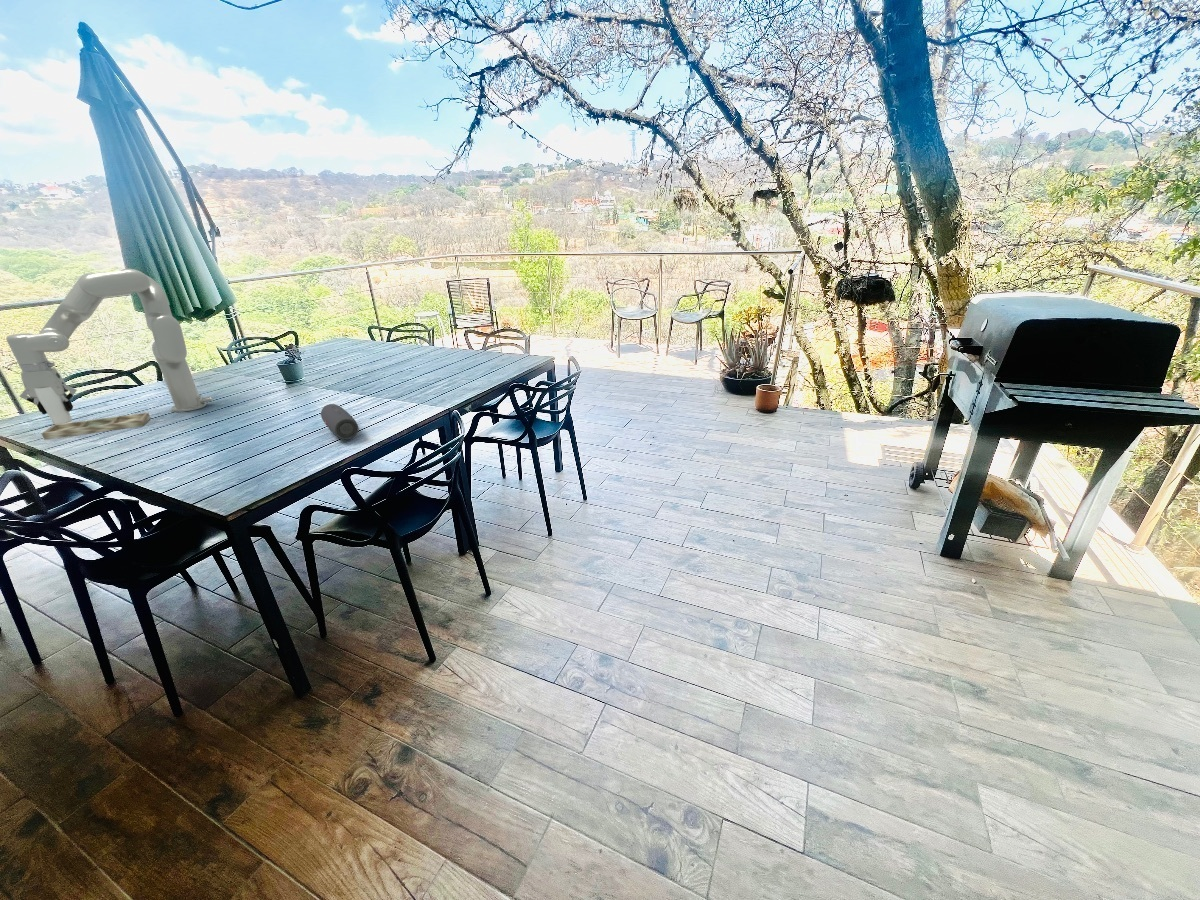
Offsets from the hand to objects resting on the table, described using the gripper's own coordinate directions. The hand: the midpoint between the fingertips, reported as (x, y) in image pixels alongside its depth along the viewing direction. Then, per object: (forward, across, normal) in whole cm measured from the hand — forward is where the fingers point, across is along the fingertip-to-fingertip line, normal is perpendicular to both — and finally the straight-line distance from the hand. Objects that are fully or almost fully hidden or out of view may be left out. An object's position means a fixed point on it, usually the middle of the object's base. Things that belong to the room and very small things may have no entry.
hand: (57, 411), depth 188 cm
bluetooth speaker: (+9, -97, +55) cm, 112 cm away
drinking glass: (+5, 0, 0) cm, 5 cm away
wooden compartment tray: (+9, -10, 0) cm, 13 cm away
